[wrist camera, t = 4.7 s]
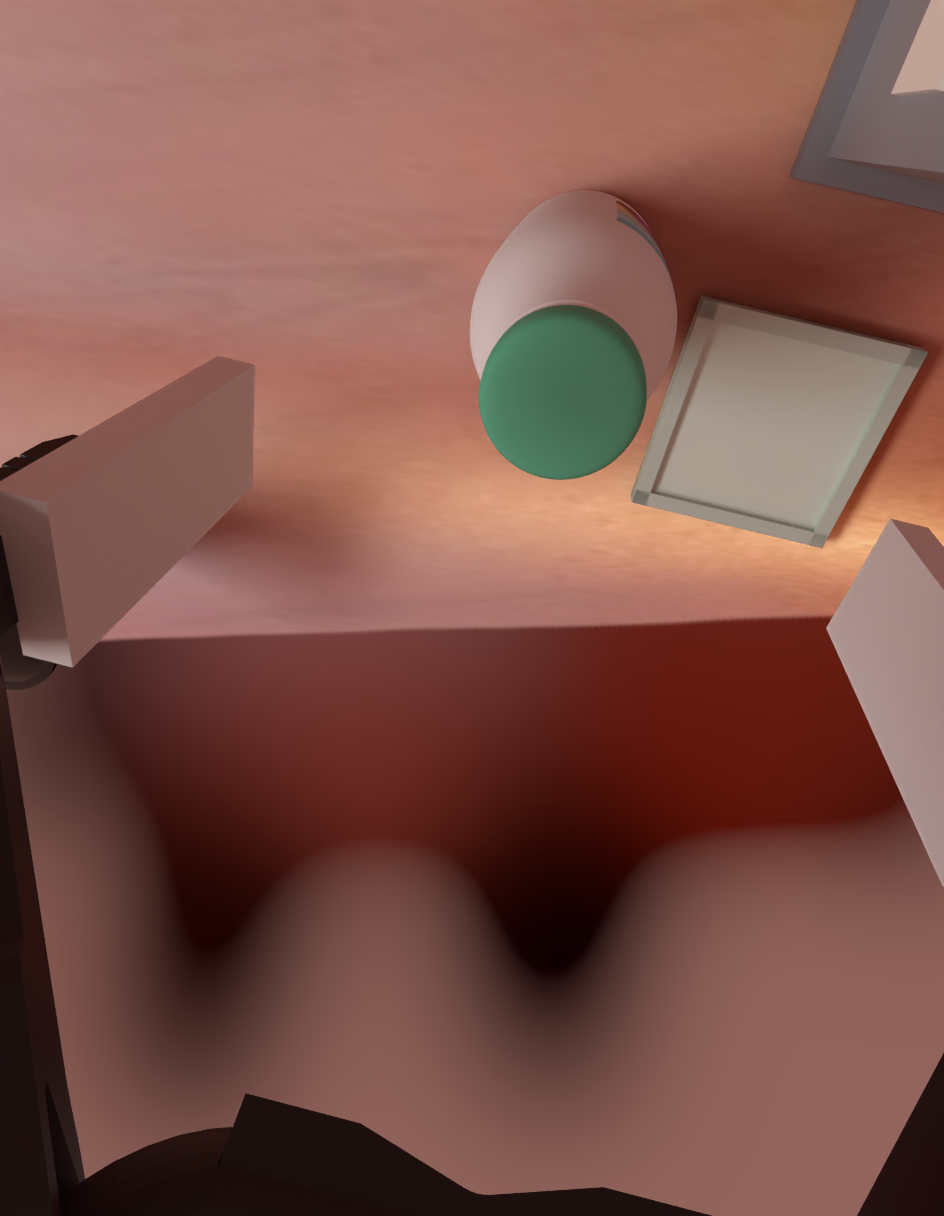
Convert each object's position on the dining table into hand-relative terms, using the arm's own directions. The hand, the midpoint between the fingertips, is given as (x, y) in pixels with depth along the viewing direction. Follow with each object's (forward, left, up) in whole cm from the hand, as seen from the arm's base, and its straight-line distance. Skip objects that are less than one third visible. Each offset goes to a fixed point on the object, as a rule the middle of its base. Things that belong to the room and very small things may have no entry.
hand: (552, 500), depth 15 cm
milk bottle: (0, 0, -26) cm, 26 cm away
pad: (+5, +11, -26) cm, 28 cm away
